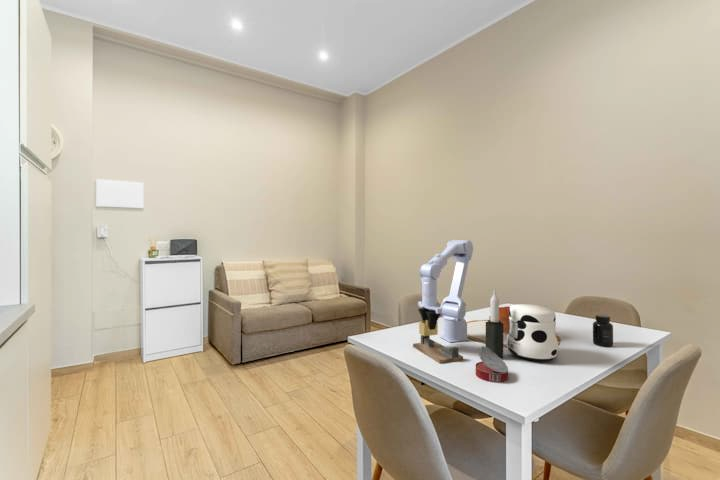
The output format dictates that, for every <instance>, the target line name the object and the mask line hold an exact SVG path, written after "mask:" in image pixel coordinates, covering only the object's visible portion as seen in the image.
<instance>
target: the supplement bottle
mask: <svg viewBox="0 0 720 480" xmlns="http://www.w3.org/2000/svg"><path fill="white" fill-rule="evenodd" d="M592 342H593V344H594V345H595V346H597V347H603V348H611V347H614V325H613V324H612V323H611V317H610V316H608V315H604V314H596V315H595V321H593V323H592Z"/></svg>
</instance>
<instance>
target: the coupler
mask: <svg viewBox="0 0 720 480" xmlns="http://www.w3.org/2000/svg"><path fill="white" fill-rule="evenodd" d="M418 324H419V325H418V332H419V334H420V336H421V335H423V336H437V335H439V334H438V333H439V331H438V321H437V324H436V327H435V329H433V330H430V328H429V320H428V319H426V320H425V321H422V320H419V321H418Z"/></svg>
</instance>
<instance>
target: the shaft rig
mask: <svg viewBox="0 0 720 480" xmlns="http://www.w3.org/2000/svg"><path fill="white" fill-rule="evenodd" d="M430 336H431V335H430ZM430 336H423V335H421V334H420V342H416V343H413V344H412V346H413V347H412V348H415V349H416V350H418V351H419V352H421V353H422V354H424V355H425V356H427V357H428V358H430V359H432V360H433V361H435V362H436V363H438V364H446V363H451V362H459V361H463V360H464V356H463V355H461V354H459V351H460V350H459V347H457V346H451V347H446V346H444V345H442V344H441V343H439V342H437V341H435V340H434V339H431V337H430Z"/></svg>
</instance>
